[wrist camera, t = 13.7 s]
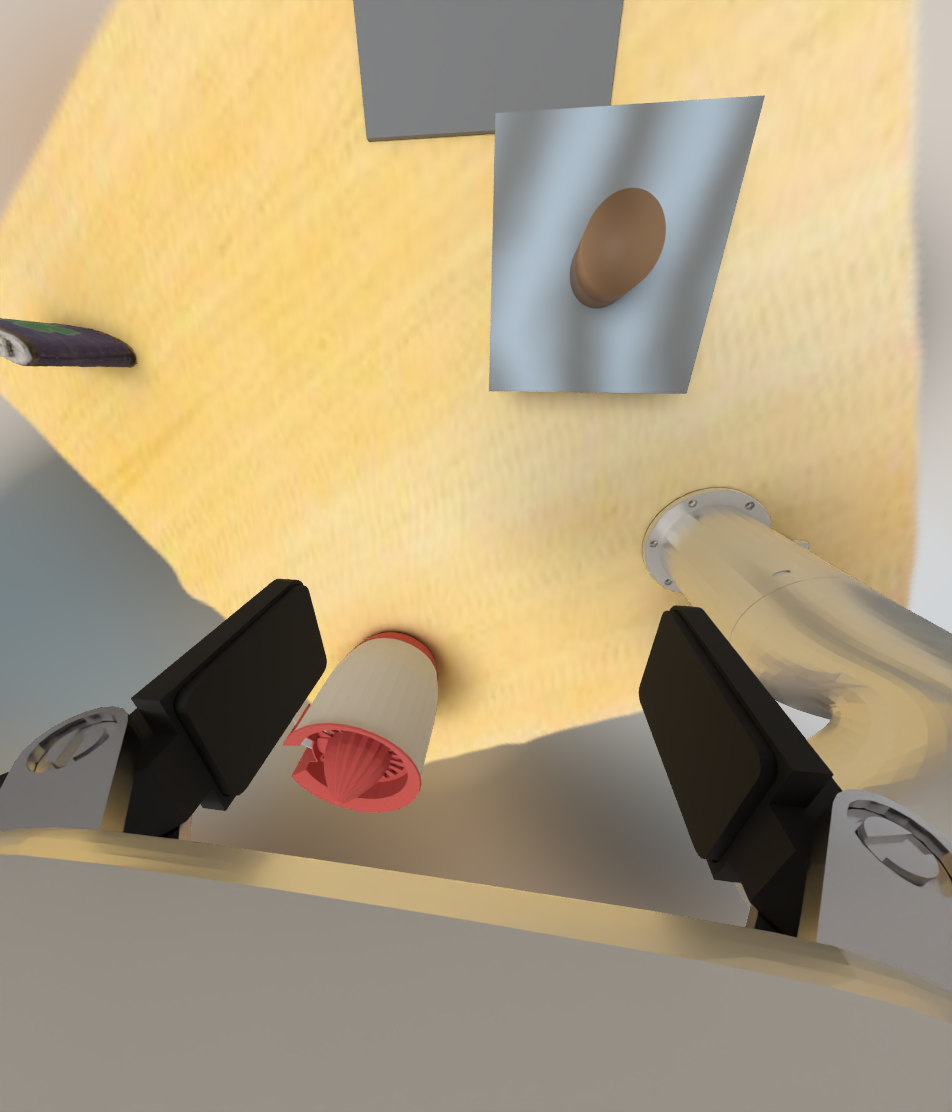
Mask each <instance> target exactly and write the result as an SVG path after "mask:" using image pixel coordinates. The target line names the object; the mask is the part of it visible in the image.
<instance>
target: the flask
mask: <svg viewBox="0 0 952 1112" xmlns="http://www.w3.org/2000/svg"><path fill="white" fill-rule="evenodd" d="M0 356H3V357H5V358H6V359H9V360H10V361H12V362H13V363H17V364H19V365H23V366H80V367H97V366H101V367H129V368H131V367H133V366H134V365H135V364H137V362H136V356H135V353H134V352H133V350H132V348H131V347H129V346H128V345H127V344H126V343H124V342H123V341H121V340H119V339H117V338H114V337H112V336H110V335H108V334H104V333H103V332H100V331H95V330H93V329H85V328H81V327H76V326H70V325H61V324H49V323H40V322H30V321H21V320H13V319H2V318H0Z"/></svg>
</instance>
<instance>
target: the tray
mask: <svg viewBox="0 0 952 1112" xmlns="http://www.w3.org/2000/svg"><path fill="white" fill-rule="evenodd" d="M353 2H354V13H355V23H356V33H357V43H358V54H359V64H360V74H361V84H362V95H363V105H364V115H365V125H366V136H367V140H368V141H385V140H401V139H417V138H432V137H448V136H464V135H480V134H495V113H506V112H521V111H537V110H552V109H567V108H582V107H598V106H610V101H611V93H612V85H613V77H614V69H615V61H616V53H617V45H618V37H619V29H620V21H621V13H622V4H623V0H353Z"/></svg>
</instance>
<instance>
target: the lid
mask: <svg viewBox="0 0 952 1112" xmlns="http://www.w3.org/2000/svg"><path fill="white" fill-rule="evenodd" d="M764 97H765V96H750V97H735V98H720V99H705V100H689V101H674V102H659V103H644V104H628V105H613V106H598V107H582V108H567V109H552V110H537V111H521V112H506V113H495V157H494V201H493V244H492V288H491V331H490V375H489V391H520V392H599V393H679V394H686V393H687V390H688V386H689V382H690V378H691V374H692V371H693V367H694V363H695V359H696V355H697V352H698V348H699V344H700V340H701V336H702V333H703V329H704V325H705V321H706V317H707V314H708V310H709V306H710V302H711V298H712V295H713V291H714V287H715V283H716V279H717V276H718V272H719V268H720V264H721V260H722V257H723V253H724V249H725V245H726V241H727V238H728V234H729V230H730V226H731V222H732V219H733V215H734V211H735V207H736V203H737V200H738V196H739V192H740V188H741V184H742V181H743V177H744V173H745V169H746V165H747V162H748V158H749V154H750V150H751V146H752V143H753V139H754V135H755V131H756V127H757V123H758V120H759V116H760V112H761V108H762V104H763V101H764Z"/></svg>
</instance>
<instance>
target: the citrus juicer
mask: <svg viewBox="0 0 952 1112" xmlns="http://www.w3.org/2000/svg"><path fill="white" fill-rule="evenodd" d="M437 682H438V673H437V668H436V664H435V661H434V658H433V656H432V654H431V652H430V651H429V650H428V649H427V648H426V646H425V645H423V644H422V643H421V642H420V641H418V640H416V639H414V638H413V637H410V636H408V635H405V634H401V633H395V632H386V633H380V634H376V635H374V636H372V637H370V638H368V639H367V640H365V641H363V642H362V643H360V644H359V645H358V646H357V647H356V648H355V649H354V650H353V651H352V652H351V653H349V654H348V655H347V656H346V657H345V658H344V659H343V660H342V661H341V662H340V663H339V664H338V665H337V667H336V668H335V669H334V671H333V672H332V674H331V675H330V676H329V678H328V679H327V681H326V682H325V684H324V686H323V687H322V689H321V690H320V692H319V693H318V695H317V696H316V698H315V700H314V701H313V703H312V704H311V705H310V704H309V705H308V706H307V708H306V709H305V711H304V712H303V714H302V713H299V712H297V713H296V715H295V716H294V718H293V719H292V720H293V721H294V722H295V724H296V725H295V726H294V728H293V729H292V731H291V733H290V734H289V735H288V737H287V739H286V740H285V741H284V743H283V745H300V744H303V745H304V746H306V747H307V749H306V750H305V752H304V754H303V756H302V758H301V759H300V761H299V763H298V765H297V767H296V769H295V771H294V773H293V774H292V777H293V778H294V779H295V780H296V782H297V783H298V784H299V785H300V786H302V787H303V788H304V789H306V790H307V791H308V792H310V793H311V794H313V795H315V796H317V797H318V798H320V799H322V800H324V801H327V802H329V803H331V804H334V805H337V806H340V807H343V808H347V809H351V810H355V811H363V812H387V811H393V810H396V809H400V808H402V807H404V806H406V805H408V804H409V803H411V802H412V801H413V800H414V799H415V798H416V796H417V794H418V793H419V791H420V787H421V773H422V769H423V765H424V761H425V757H426V753H427V749H428V745H429V741H430V737H431V733H432V729H433V725H434V720H435V715H436V710H437V704H438V683H437Z"/></svg>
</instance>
